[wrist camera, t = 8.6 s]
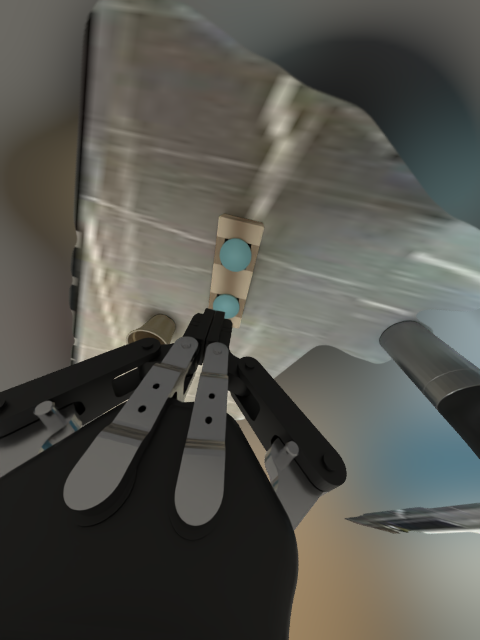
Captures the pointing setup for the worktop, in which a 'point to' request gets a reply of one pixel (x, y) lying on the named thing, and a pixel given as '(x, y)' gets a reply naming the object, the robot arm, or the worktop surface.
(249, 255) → the teal peg
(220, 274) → the oak block
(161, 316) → the flower pot
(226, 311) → the teal peg
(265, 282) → the worktop surface
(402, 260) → the worktop surface
